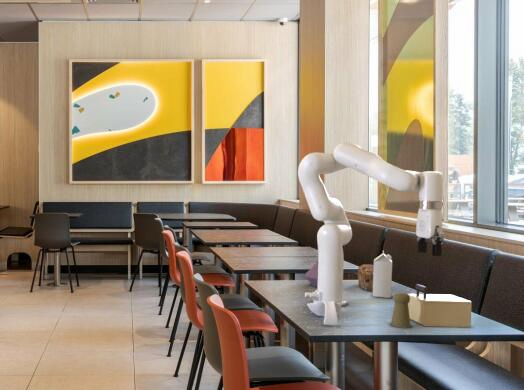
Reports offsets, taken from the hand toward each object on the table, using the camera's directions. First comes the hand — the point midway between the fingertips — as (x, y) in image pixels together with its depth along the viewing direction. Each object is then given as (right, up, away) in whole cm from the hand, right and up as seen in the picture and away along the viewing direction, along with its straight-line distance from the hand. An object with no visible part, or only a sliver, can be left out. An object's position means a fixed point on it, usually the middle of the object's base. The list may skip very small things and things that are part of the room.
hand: (429, 254), depth 223 cm
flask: (-19, -21, +63) cm, 69 cm away
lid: (0, -15, -6) cm, 17 cm away
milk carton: (-1, -22, +41) cm, 46 cm away
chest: (0, -23, -6) cm, 24 cm away
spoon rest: (-38, -22, -5) cm, 44 cm away
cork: (-15, -23, -13) cm, 30 cm away
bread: (+3, -21, +60) cm, 64 cm away
